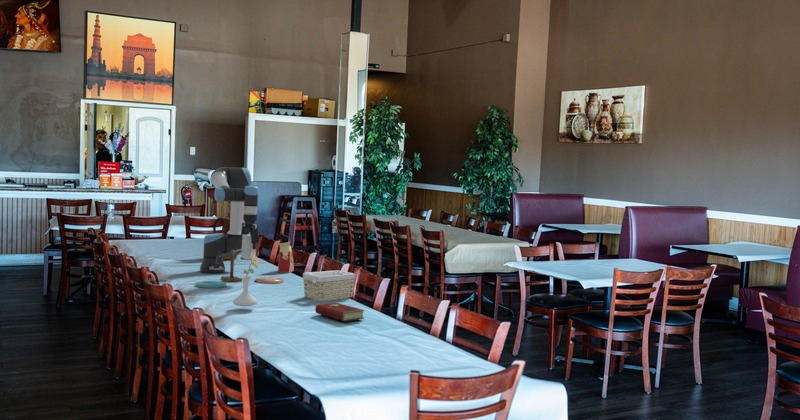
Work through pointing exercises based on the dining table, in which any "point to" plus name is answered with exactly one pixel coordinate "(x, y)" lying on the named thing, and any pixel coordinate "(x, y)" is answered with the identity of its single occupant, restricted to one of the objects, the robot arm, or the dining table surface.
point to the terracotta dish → (269, 280)
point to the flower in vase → (245, 296)
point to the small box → (246, 246)
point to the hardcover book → (339, 311)
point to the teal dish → (211, 284)
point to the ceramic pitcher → (224, 232)
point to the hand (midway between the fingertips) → (248, 253)
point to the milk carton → (285, 258)
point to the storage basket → (328, 285)
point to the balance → (231, 277)
